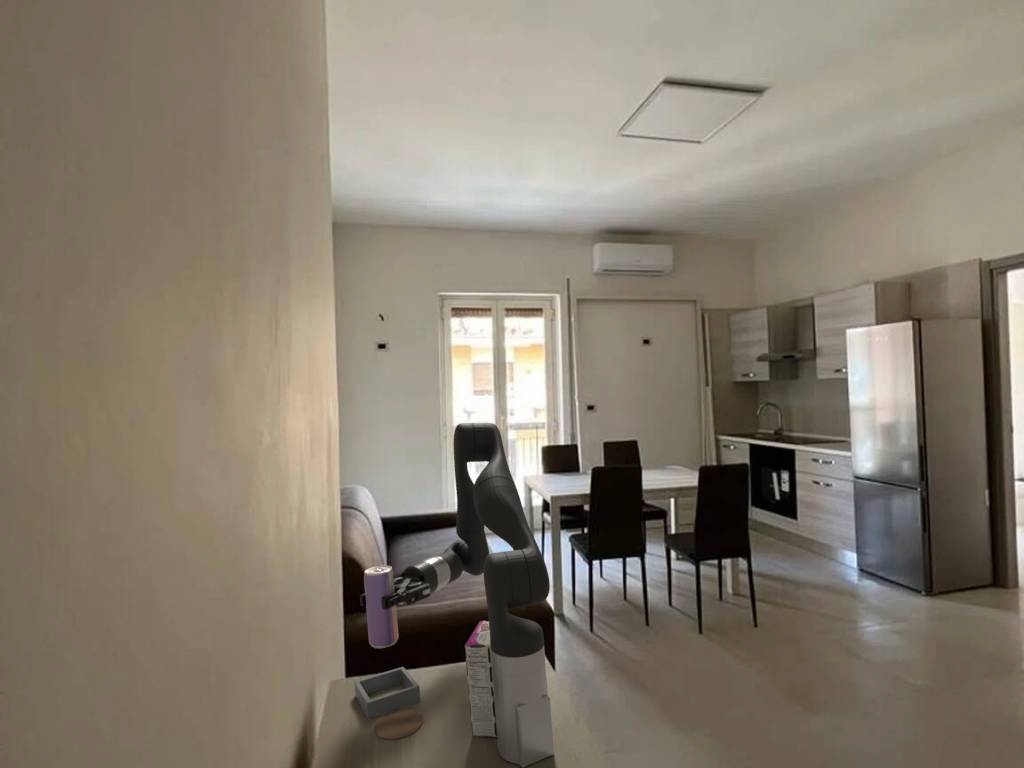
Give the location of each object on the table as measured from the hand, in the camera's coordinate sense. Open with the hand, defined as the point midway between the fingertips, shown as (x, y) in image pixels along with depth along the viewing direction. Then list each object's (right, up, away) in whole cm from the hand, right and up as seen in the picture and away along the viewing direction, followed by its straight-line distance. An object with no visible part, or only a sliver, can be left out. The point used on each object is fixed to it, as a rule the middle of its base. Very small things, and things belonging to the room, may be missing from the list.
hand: (372, 602), depth 113 cm
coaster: (+7, -20, -8) cm, 22 cm away
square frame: (+2, -21, +2) cm, 21 cm away
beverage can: (+2, -9, +2) cm, 10 cm away
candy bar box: (+24, -19, -9) cm, 32 cm away
